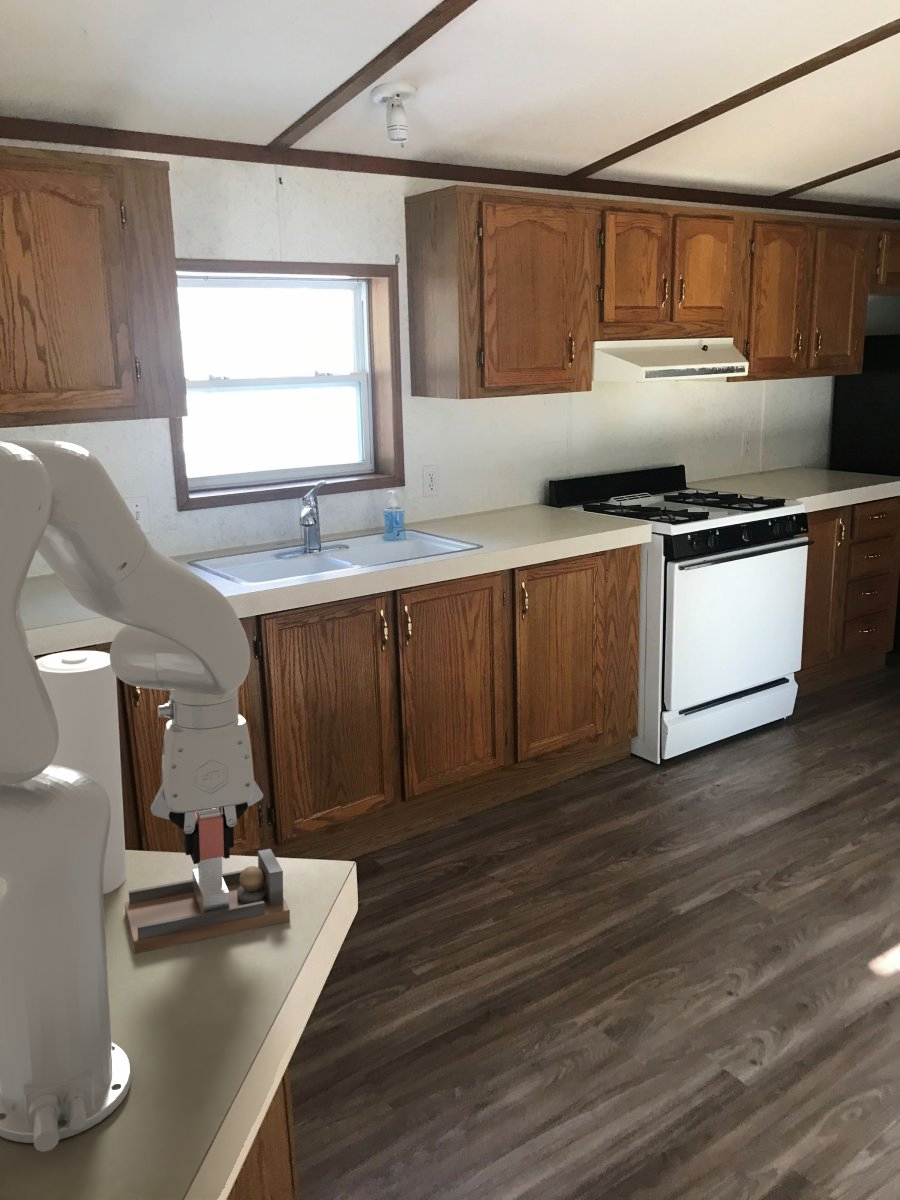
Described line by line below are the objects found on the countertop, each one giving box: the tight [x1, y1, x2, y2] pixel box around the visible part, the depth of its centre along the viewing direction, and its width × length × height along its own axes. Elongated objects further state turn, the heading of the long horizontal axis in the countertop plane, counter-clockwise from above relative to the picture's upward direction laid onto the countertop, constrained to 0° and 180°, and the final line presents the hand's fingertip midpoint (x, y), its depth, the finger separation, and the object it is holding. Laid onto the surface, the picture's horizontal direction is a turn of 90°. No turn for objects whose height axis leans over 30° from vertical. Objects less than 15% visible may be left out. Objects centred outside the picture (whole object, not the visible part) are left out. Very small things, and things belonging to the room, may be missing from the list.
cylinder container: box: [35, 650, 127, 896], centre depth 122 cm, size 9×9×30 cm
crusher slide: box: [192, 808, 229, 913], centre depth 116 cm, size 7×3×12 cm, turn 24°
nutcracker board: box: [124, 848, 291, 954], centre depth 117 cm, size 9×18×6 cm, turn 114°
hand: (209, 854), depth 116 cm, fingers closed on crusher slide, 2 cm apart
